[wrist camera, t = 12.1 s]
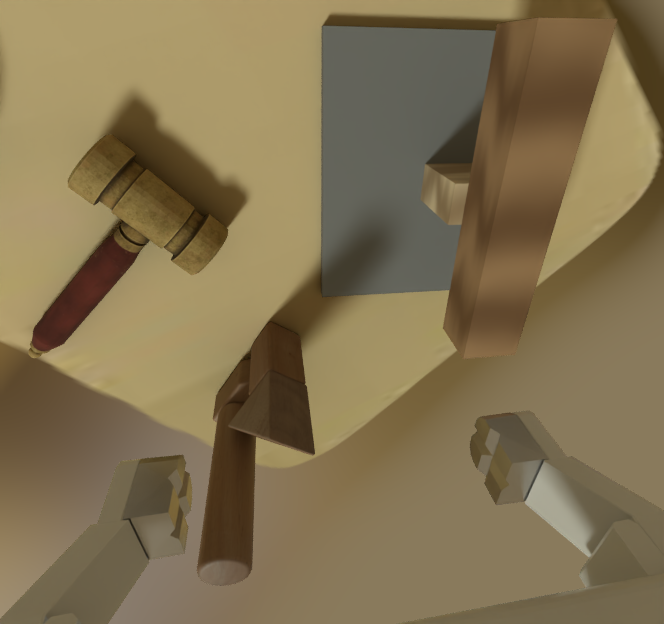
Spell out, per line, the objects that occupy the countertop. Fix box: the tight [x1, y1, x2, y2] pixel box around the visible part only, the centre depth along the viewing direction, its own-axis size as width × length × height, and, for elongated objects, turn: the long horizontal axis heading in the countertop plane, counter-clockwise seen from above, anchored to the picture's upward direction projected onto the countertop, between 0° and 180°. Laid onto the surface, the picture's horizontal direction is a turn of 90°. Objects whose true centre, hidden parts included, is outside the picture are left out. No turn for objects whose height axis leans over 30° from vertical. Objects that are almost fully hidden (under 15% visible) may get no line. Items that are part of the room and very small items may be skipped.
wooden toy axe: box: [197, 322, 315, 586], centre depth 33 cm, size 4×11×18 cm, turn 145°
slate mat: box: [321, 26, 496, 297], centre depth 32 cm, size 20×14×1 cm
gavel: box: [28, 135, 228, 358], centre depth 32 cm, size 21×5×10 cm
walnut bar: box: [443, 18, 617, 359], centre depth 26 cm, size 20×4×4 cm, turn 0°
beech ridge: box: [420, 163, 472, 225], centre depth 30 cm, size 3×6×6 cm, turn 89°
